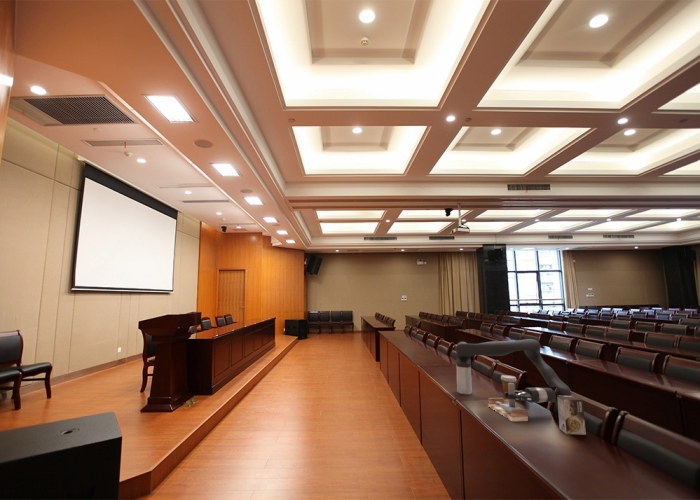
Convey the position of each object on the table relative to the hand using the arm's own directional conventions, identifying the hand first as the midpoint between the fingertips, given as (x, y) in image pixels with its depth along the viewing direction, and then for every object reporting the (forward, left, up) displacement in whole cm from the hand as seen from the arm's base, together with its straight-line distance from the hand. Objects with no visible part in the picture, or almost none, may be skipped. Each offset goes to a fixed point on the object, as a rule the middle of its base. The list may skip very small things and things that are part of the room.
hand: (507, 395), depth 176 cm
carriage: (0, +3, -9) cm, 9 cm away
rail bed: (-5, +3, -11) cm, 12 cm away
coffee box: (+21, +20, -11) cm, 31 cm away
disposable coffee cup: (-35, +25, -11) cm, 45 cm away
